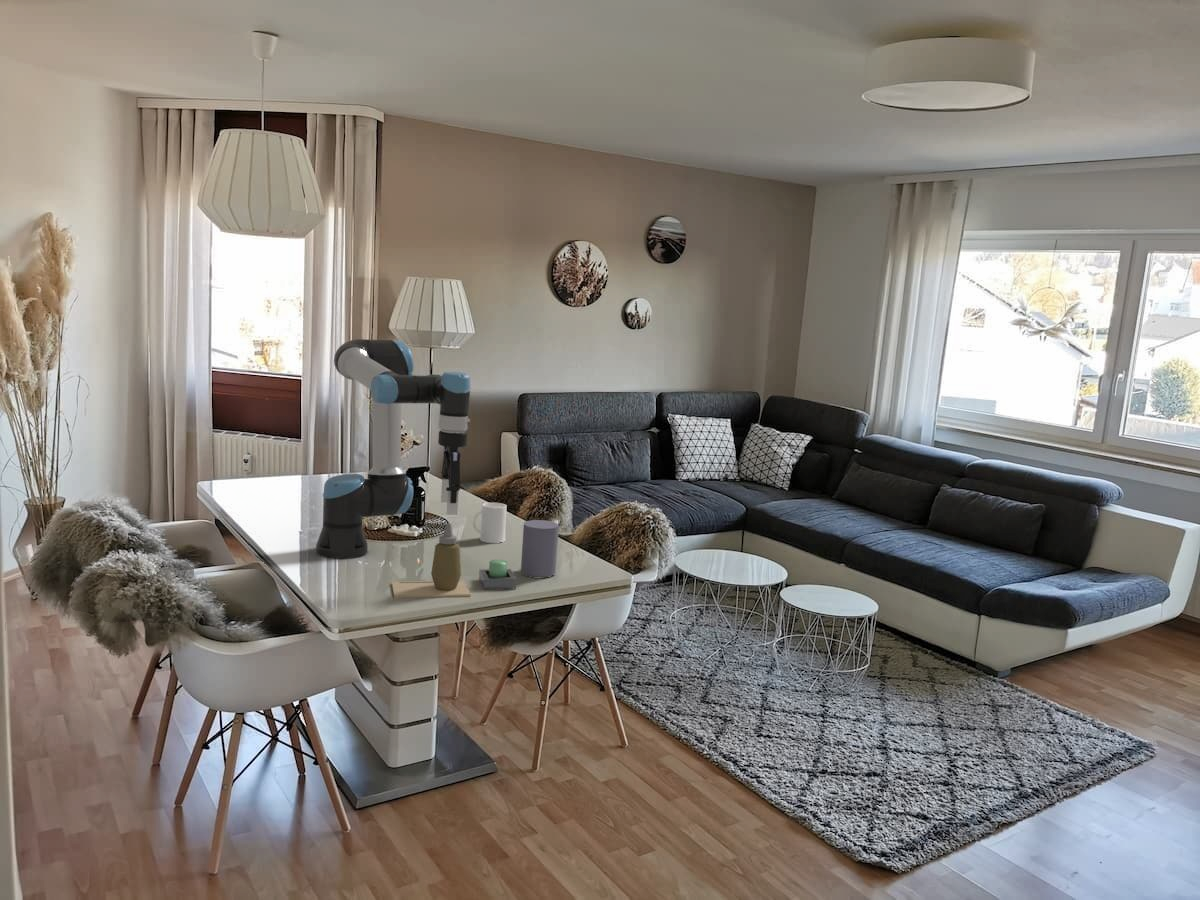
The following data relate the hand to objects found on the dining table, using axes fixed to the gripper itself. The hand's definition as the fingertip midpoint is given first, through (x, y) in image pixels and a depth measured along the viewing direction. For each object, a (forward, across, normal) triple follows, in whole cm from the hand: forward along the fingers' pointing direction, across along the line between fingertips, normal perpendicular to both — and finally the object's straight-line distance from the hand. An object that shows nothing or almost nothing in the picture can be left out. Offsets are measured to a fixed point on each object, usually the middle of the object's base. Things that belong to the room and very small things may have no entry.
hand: (448, 508), depth 245 cm
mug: (+24, +50, -20) cm, 59 cm away
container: (+23, +13, -29) cm, 40 cm away
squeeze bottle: (+22, 0, 0) cm, 22 cm away
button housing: (+23, +3, -15) cm, 28 cm away
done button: (+21, +3, -15) cm, 26 cm away
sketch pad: (+23, -1, +4) cm, 23 cm away
